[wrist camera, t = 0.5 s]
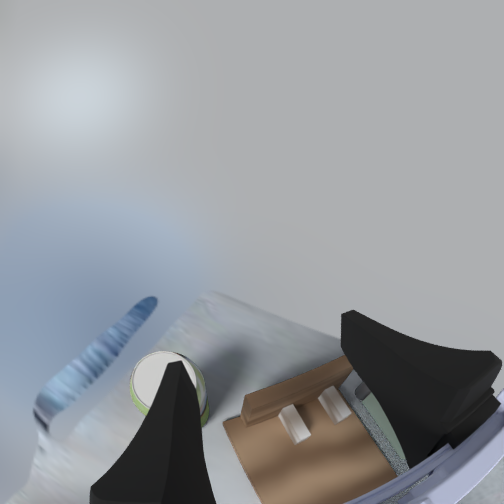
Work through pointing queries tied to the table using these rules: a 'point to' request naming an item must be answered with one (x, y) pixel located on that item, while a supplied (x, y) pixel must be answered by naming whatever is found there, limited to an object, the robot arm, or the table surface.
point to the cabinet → (307, 441)
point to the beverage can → (150, 376)
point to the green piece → (378, 416)
